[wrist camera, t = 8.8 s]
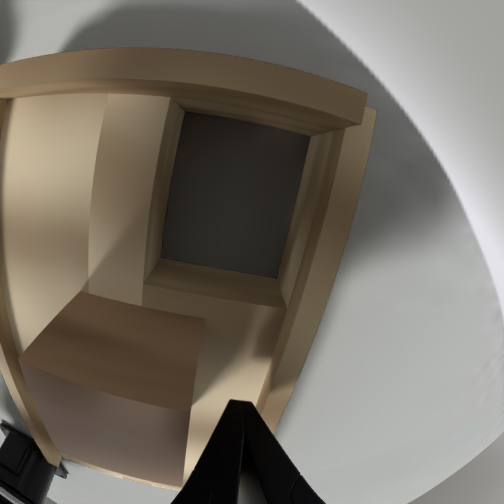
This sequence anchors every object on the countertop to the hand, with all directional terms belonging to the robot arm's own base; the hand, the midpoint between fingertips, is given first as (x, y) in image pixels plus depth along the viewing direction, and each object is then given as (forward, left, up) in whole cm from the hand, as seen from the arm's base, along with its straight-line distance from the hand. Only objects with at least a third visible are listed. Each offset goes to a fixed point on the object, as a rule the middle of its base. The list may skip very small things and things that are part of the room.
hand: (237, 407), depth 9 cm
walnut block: (0, +4, -2) cm, 4 cm away
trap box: (-1, +5, -4) cm, 6 cm away
